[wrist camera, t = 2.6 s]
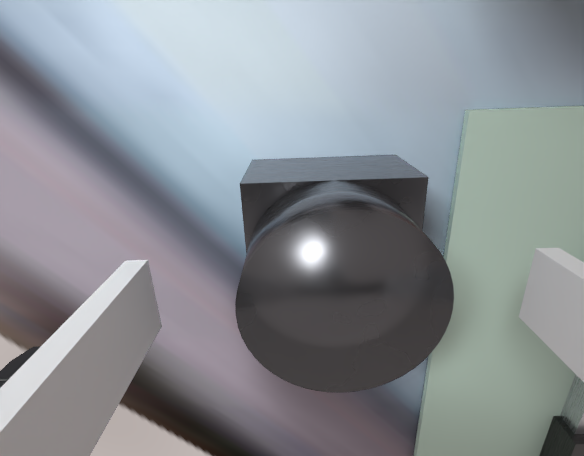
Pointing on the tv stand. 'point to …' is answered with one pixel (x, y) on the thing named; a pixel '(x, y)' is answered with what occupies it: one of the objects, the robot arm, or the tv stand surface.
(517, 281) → the tool mat
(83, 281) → the tv stand surface
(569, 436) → the ratchet
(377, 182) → the dark grey door knob
